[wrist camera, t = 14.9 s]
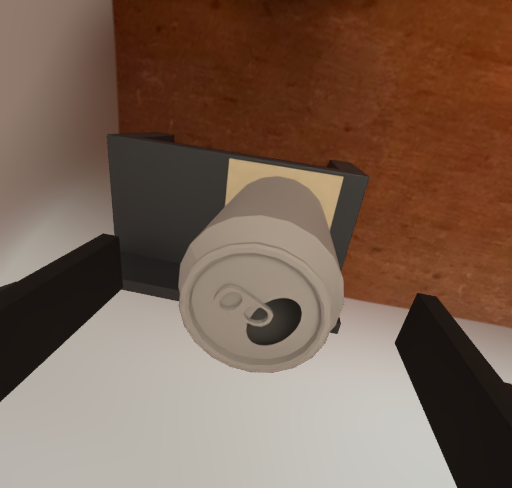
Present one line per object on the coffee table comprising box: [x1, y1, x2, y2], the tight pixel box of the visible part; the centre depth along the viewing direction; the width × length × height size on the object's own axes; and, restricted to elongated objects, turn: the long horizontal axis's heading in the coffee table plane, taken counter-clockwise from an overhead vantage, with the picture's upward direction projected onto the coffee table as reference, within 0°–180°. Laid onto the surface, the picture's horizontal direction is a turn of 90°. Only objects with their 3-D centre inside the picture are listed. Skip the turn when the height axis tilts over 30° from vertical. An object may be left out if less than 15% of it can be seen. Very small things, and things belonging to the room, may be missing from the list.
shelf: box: [107, 132, 369, 334], centre depth 24 cm, size 20×11×12 cm, turn 82°
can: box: [178, 176, 344, 373], centre depth 16 cm, size 8×8×12 cm
